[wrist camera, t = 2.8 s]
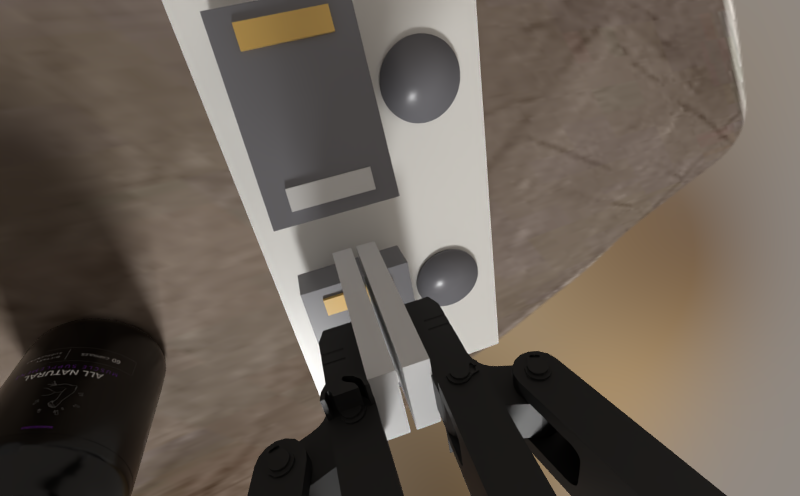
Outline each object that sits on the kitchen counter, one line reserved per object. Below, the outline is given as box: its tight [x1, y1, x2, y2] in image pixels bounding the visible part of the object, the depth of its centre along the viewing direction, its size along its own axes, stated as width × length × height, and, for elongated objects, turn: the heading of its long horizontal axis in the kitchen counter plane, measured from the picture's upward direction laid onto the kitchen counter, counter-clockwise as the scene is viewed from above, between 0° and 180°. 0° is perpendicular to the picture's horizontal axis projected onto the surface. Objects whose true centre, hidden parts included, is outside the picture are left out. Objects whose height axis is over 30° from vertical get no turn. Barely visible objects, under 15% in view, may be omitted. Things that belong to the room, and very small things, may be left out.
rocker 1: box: [200, 0, 400, 231], centre depth 15 cm, size 5×7×2 cm, turn 10°
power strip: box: [162, 0, 499, 395], centre depth 19 cm, size 11×32×6 cm, turn 10°
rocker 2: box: [297, 245, 415, 387], centre depth 20 cm, size 5×7×2 cm, turn 10°
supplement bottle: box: [0, 319, 166, 496], centre depth 19 cm, size 7×7×12 cm
